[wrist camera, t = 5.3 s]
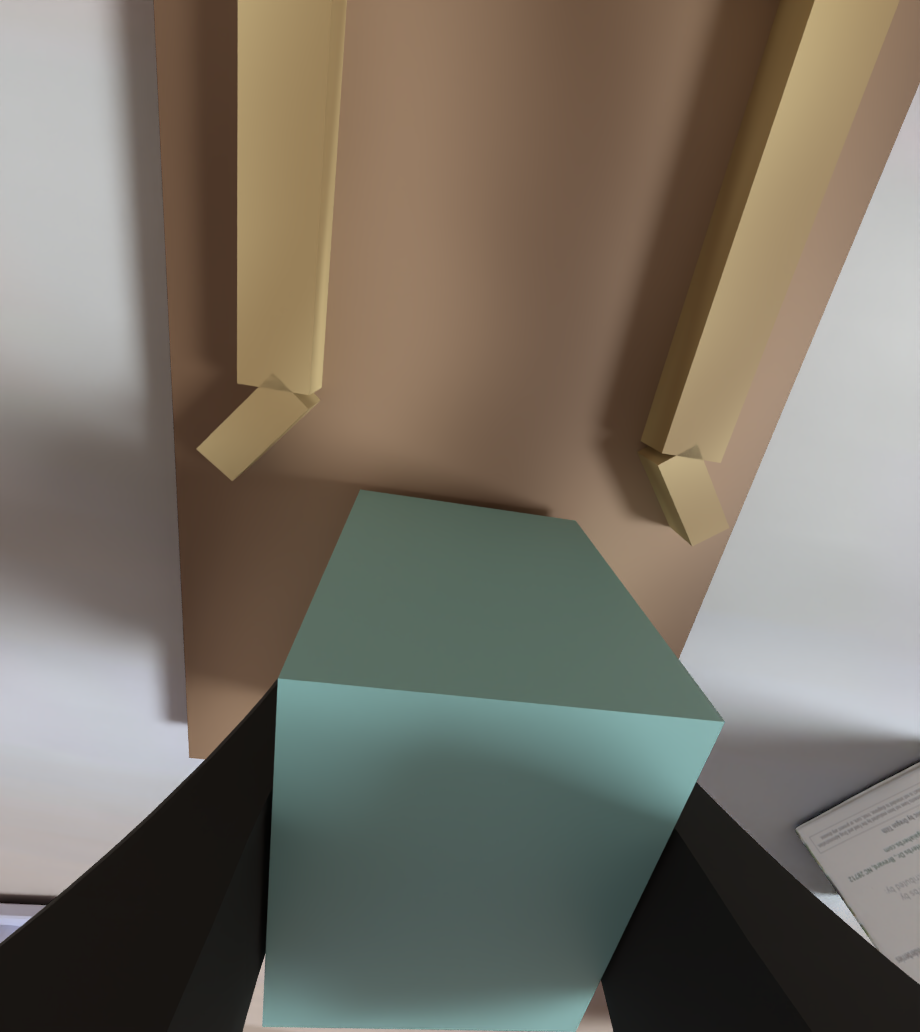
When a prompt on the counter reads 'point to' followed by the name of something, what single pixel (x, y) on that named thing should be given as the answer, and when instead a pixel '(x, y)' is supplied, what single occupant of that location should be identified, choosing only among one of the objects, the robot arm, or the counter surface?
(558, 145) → the slide board
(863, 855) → the syrup box
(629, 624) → the teal block
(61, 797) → the counter surface
